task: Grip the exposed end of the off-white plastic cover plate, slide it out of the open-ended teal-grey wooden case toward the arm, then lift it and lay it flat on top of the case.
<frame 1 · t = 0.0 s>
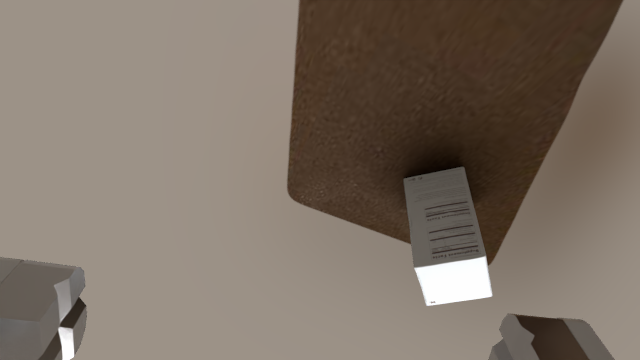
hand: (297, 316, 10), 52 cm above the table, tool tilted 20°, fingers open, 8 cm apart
supplement box: (437, 191, 81), on the table
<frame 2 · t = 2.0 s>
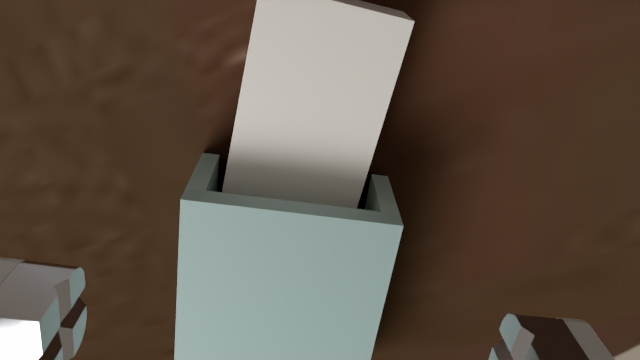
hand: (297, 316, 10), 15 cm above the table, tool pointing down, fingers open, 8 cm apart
case: (282, 267, 28), on the table
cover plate: (299, 142, 25), on the table
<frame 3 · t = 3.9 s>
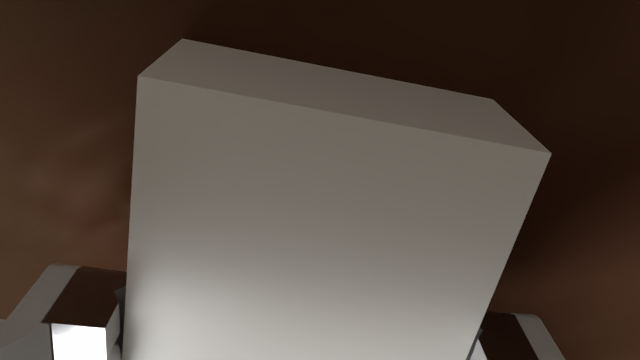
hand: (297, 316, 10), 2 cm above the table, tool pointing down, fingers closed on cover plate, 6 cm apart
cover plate: (281, 342, 13), on the table, touching gripper
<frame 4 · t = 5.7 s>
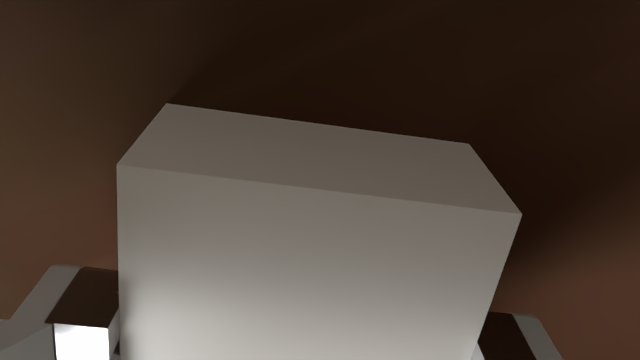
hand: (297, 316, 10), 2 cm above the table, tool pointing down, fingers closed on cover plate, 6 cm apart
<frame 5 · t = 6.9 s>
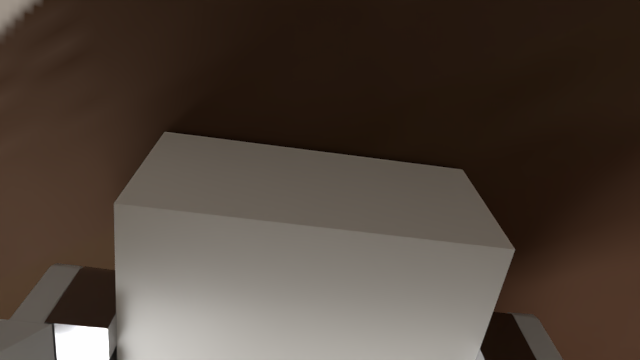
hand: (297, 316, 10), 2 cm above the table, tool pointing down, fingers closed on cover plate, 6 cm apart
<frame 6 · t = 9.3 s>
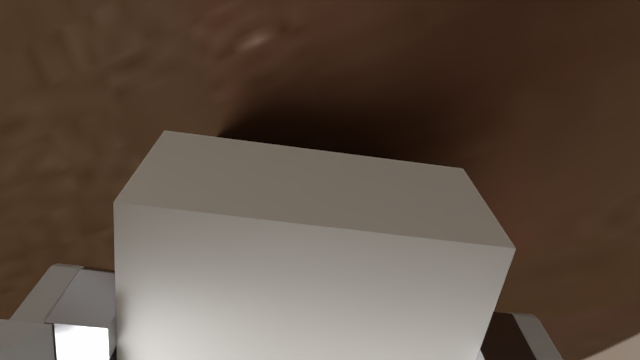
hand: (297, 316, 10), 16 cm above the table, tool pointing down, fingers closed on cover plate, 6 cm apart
when the fingers open (7 cm above the table, at t = 12.2 s): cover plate stays where it is, resting on case.
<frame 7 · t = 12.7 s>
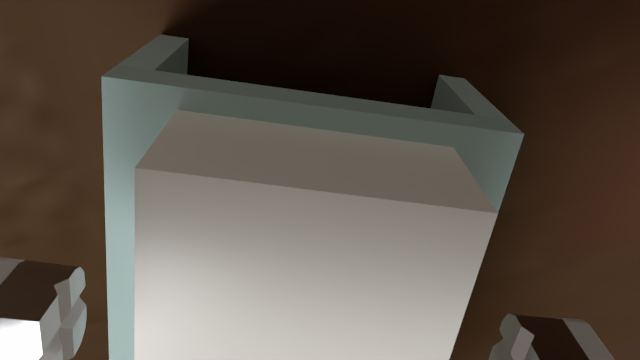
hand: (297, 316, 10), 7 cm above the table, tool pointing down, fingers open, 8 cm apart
case: (290, 231, 18), on the table
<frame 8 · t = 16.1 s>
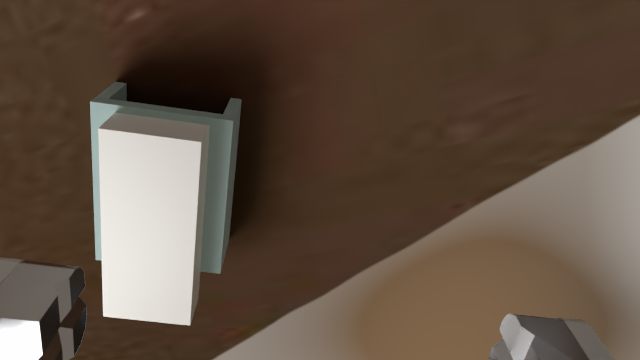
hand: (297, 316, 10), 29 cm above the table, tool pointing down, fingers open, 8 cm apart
case: (176, 166, 40), on the table
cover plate: (160, 213, 37), point 5 cm above the table, touching case
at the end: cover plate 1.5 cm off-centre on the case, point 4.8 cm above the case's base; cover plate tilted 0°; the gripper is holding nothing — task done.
